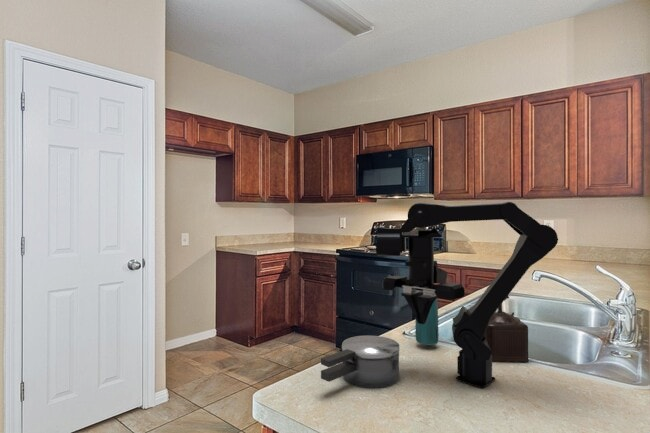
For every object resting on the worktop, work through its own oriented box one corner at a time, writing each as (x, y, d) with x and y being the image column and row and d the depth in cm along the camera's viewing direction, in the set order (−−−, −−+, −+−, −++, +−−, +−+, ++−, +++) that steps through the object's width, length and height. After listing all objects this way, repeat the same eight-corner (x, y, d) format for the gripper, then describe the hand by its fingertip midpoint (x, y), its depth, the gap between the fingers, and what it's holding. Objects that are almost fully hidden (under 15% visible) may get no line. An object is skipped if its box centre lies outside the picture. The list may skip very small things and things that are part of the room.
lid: (410, 348, 90) (410, 343, 90) (348, 375, 76) (348, 369, 76) (367, 336, 100) (367, 331, 100) (304, 357, 85) (304, 351, 85)
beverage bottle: (439, 351, 107) (439, 278, 107) (415, 349, 108) (414, 277, 108) (437, 343, 113) (437, 274, 113) (414, 342, 115) (414, 273, 114)
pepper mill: (532, 363, 98) (532, 291, 98) (487, 362, 99) (486, 291, 99) (508, 343, 113) (508, 281, 113) (469, 342, 114) (469, 280, 114)
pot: (410, 376, 90) (410, 350, 90) (348, 407, 76) (347, 376, 76) (364, 360, 101) (364, 337, 100) (301, 385, 86) (301, 358, 86)
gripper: (475, 256, 90) (476, 324, 90) (407, 251, 103) (407, 310, 103) (451, 261, 82) (452, 335, 82) (380, 255, 96) (381, 318, 96)
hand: (421, 323), depth 91 cm, fingers closed
